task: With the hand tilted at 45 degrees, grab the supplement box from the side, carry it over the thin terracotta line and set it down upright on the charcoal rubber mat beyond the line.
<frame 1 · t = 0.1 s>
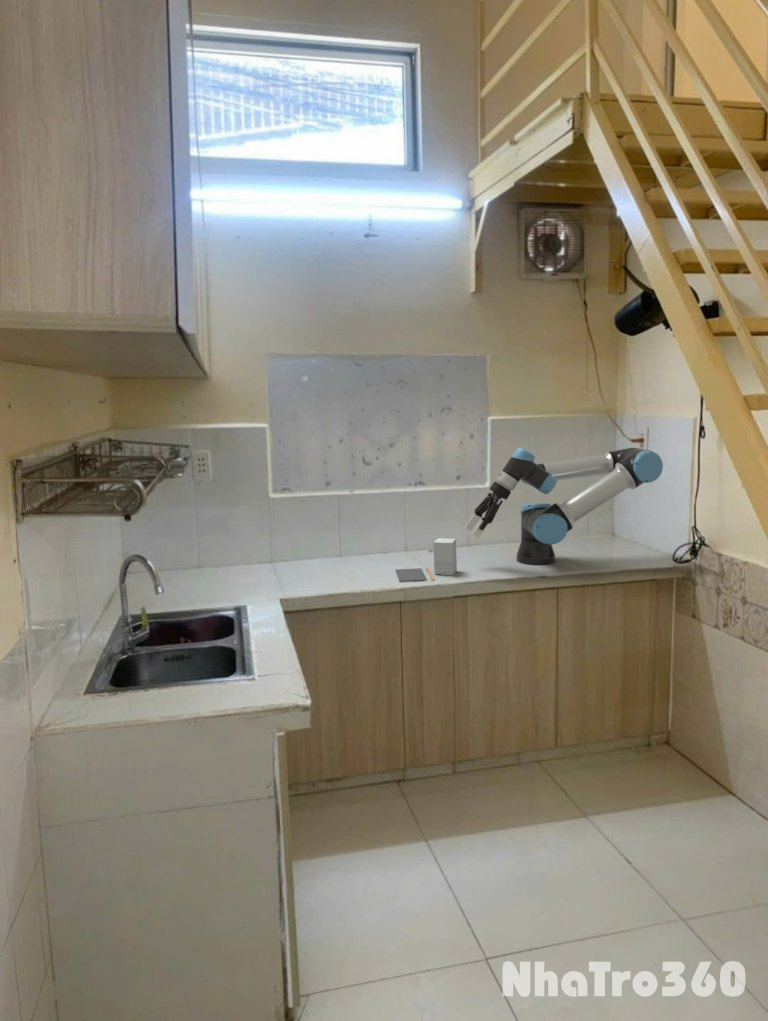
hand: (471, 533, 258), 15 cm above the countertop, tool tilted 35°, fingers open, 13 cm apart
supplement box: (445, 573, 261), on the countertop
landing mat: (410, 575, 258), on the countertop
terracotta line: (430, 574, 259), on the countertop
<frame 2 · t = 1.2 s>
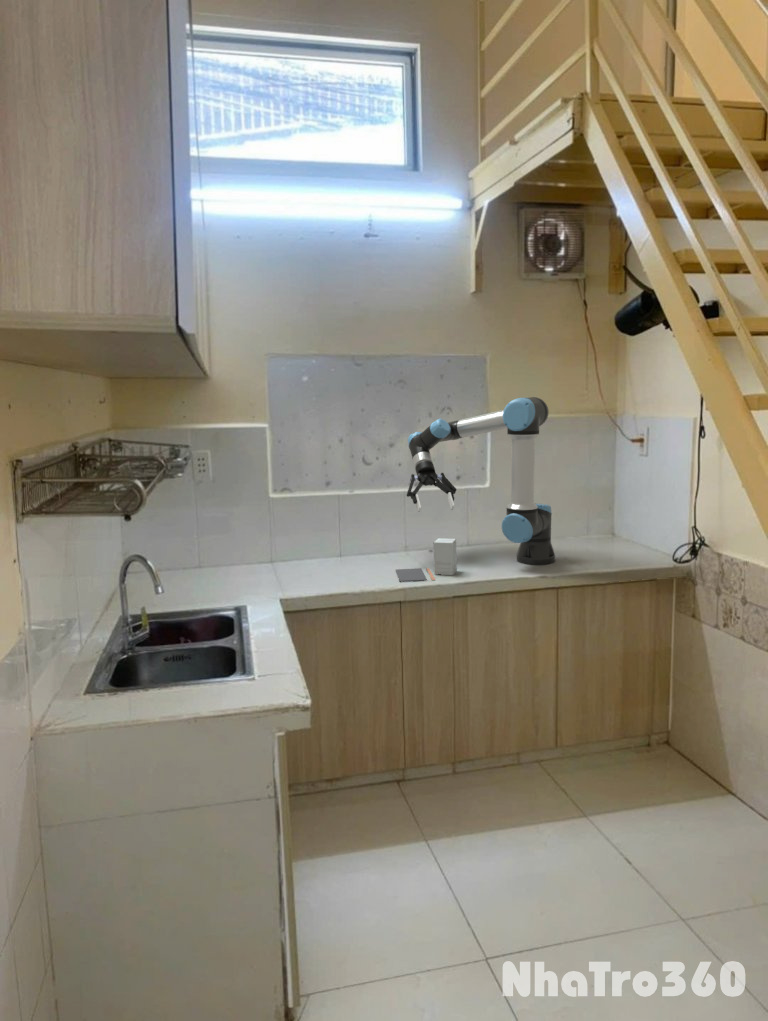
hand: (436, 508, 267), 23 cm above the countertop, tool tilted 45°, fingers open, 13 cm apart
nothing on the countertop moved.
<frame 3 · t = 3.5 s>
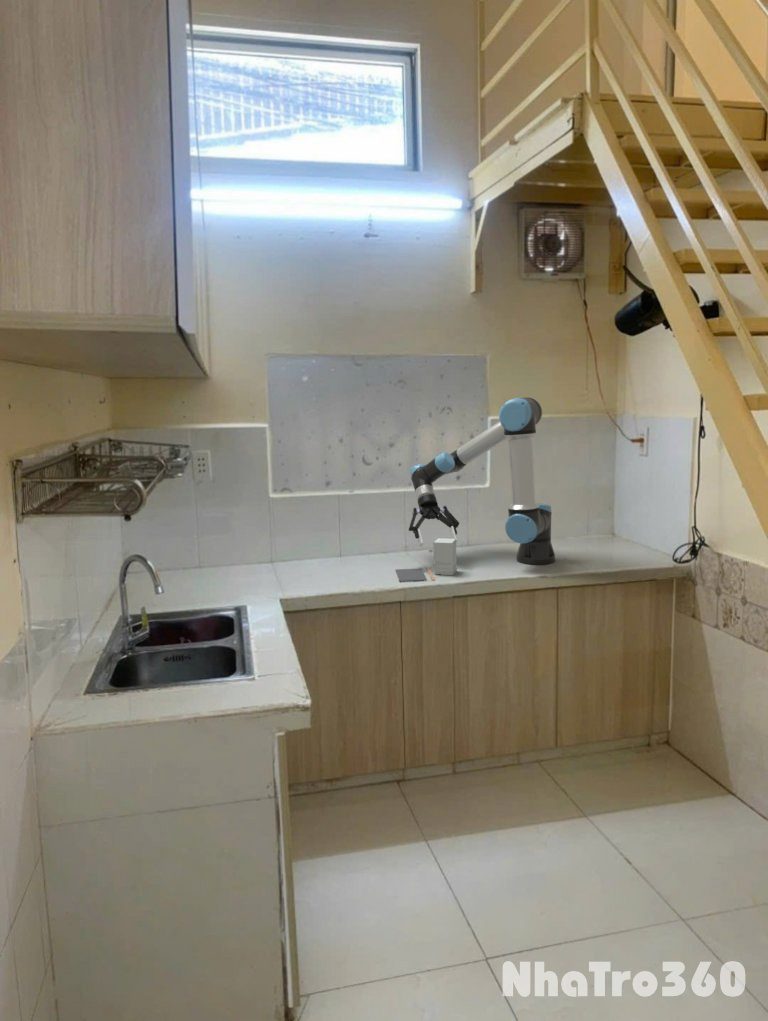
hand: (438, 543, 264), 10 cm above the countertop, tool tilted 45°, fingers open, 13 cm apart
nothing on the countertop moved.
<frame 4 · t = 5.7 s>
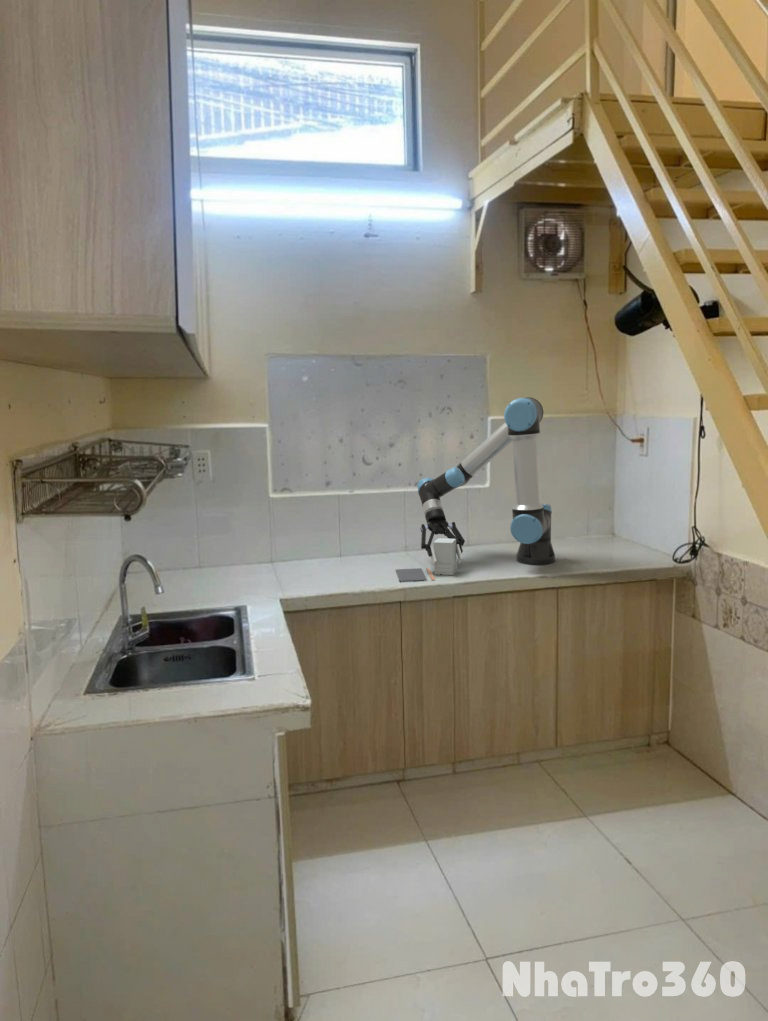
hand: (448, 561, 257), 5 cm above the countertop, tool tilted 45°, fingers closed on supplement box, 10 cm apart
supplement box: (445, 573, 261), on the countertop, touching gripper
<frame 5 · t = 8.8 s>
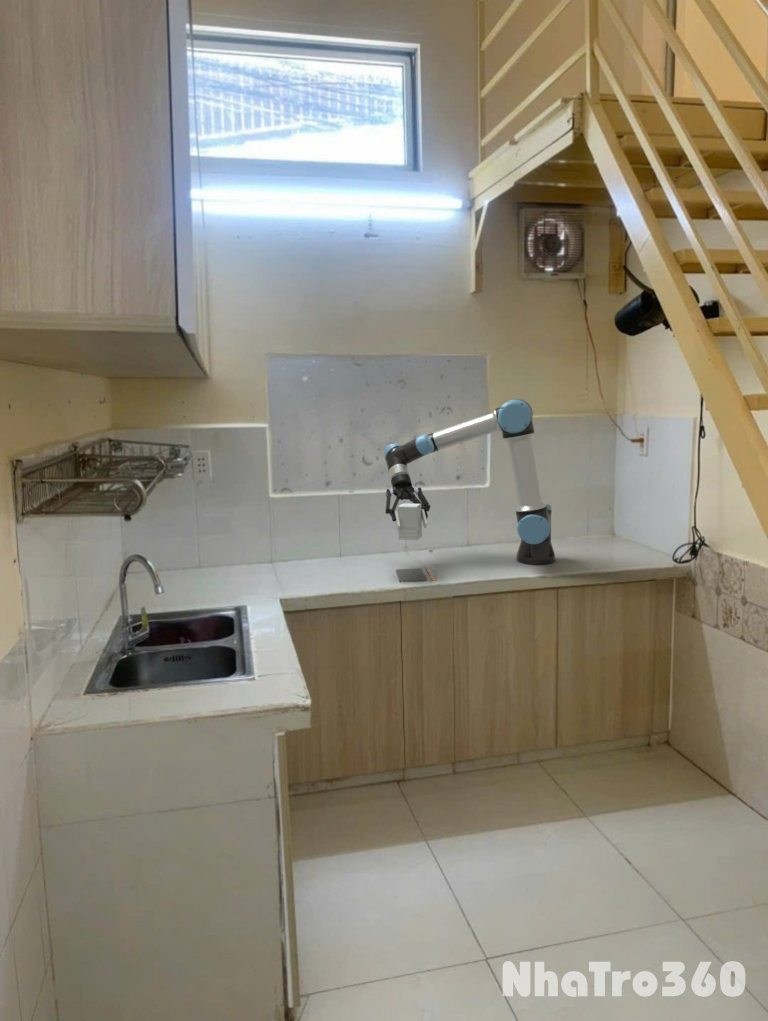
hand: (412, 526, 252), 19 cm above the countertop, tool tilted 45°, fingers closed on supplement box, 10 cm apart
supplement box: (410, 538, 256), point 14 cm above the countertop, touching gripper
when the fingers open (7 cm above the countertop, at t = 12.2 s): supplement box drops 1 cm, resting on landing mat.
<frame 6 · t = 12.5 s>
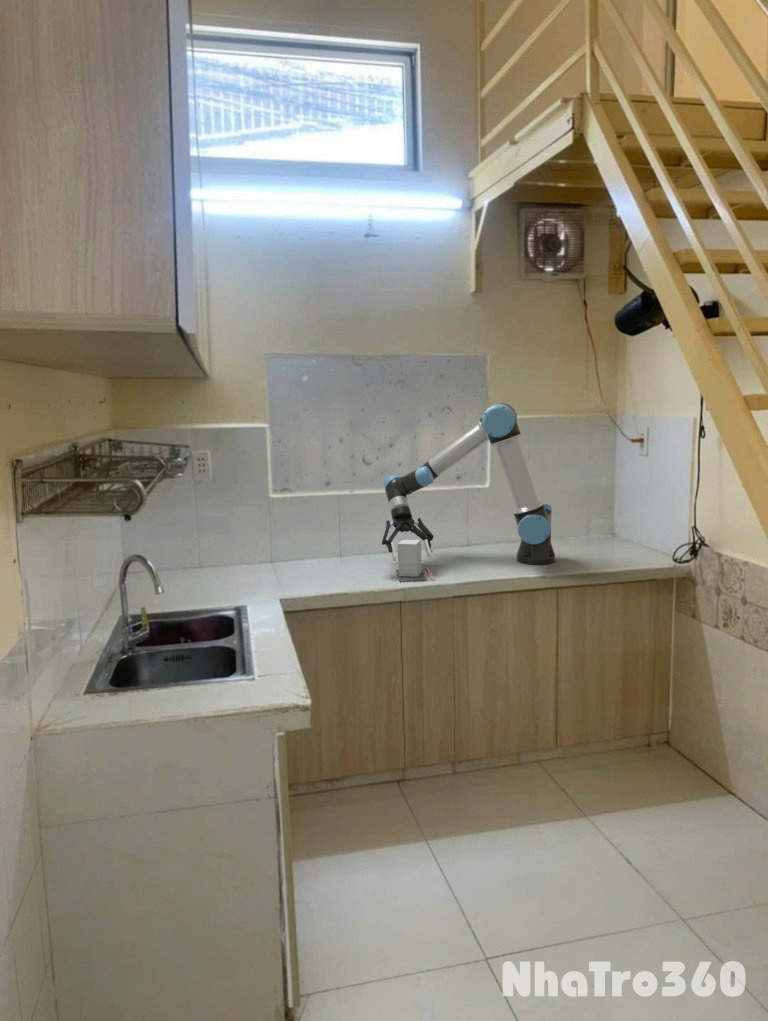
hand: (412, 557, 255), 8 cm above the countertop, tool tilted 45°, fingers open, 13 cm apart
supplement box: (410, 574, 258), resting on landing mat
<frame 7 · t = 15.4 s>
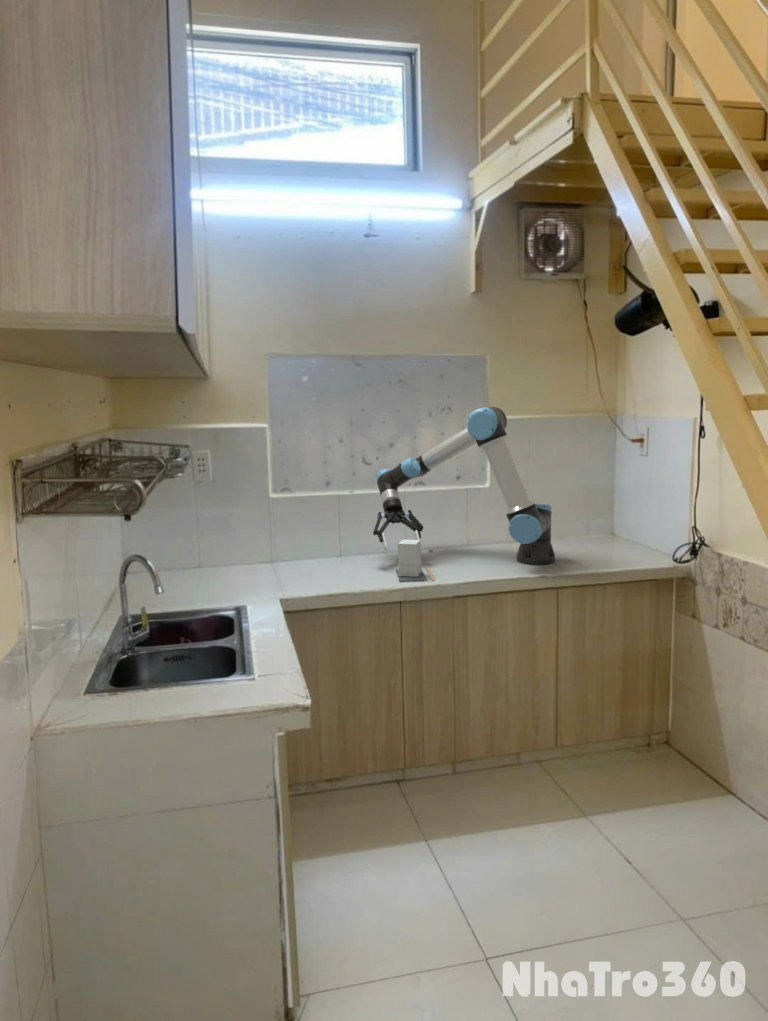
hand: (402, 547, 267), 9 cm above the countertop, tool tilted 45°, fingers open, 13 cm apart
nothing on the countertop moved.
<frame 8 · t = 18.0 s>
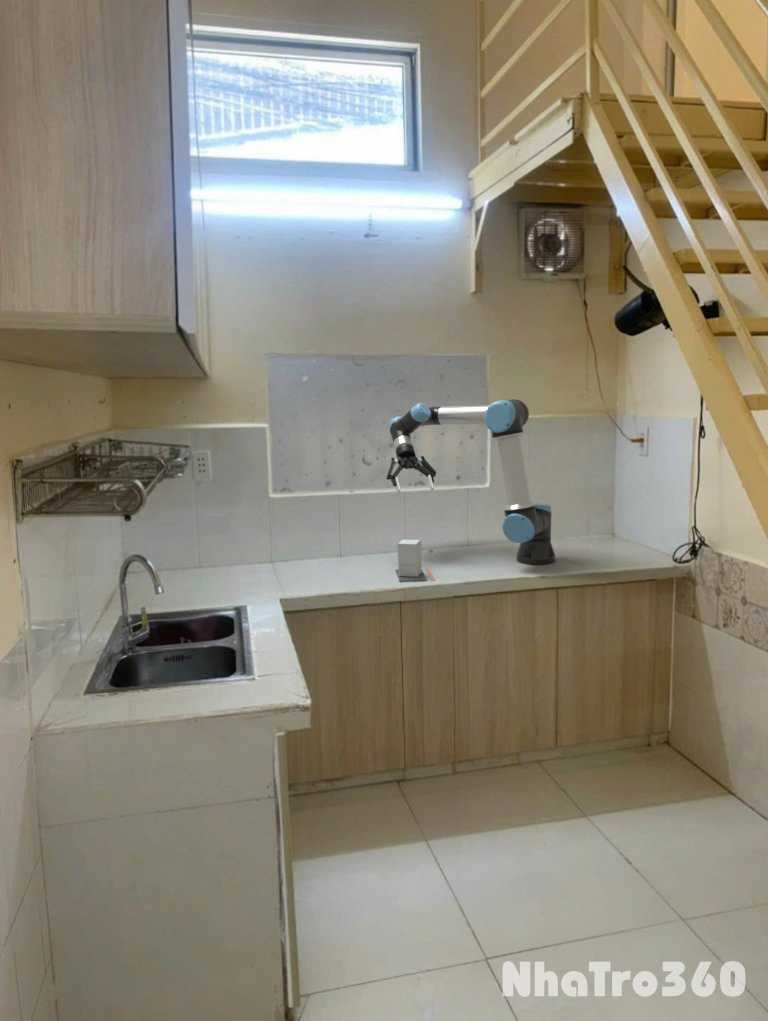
hand: (415, 491, 269), 30 cm above the countertop, tool tilted 45°, fingers open, 13 cm apart
nothing on the countertop moved.
at the end: supplement box inside the target area (1.3 cm from its centre), resting on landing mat; supplement box tilted 0°; the gripper is holding nothing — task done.
